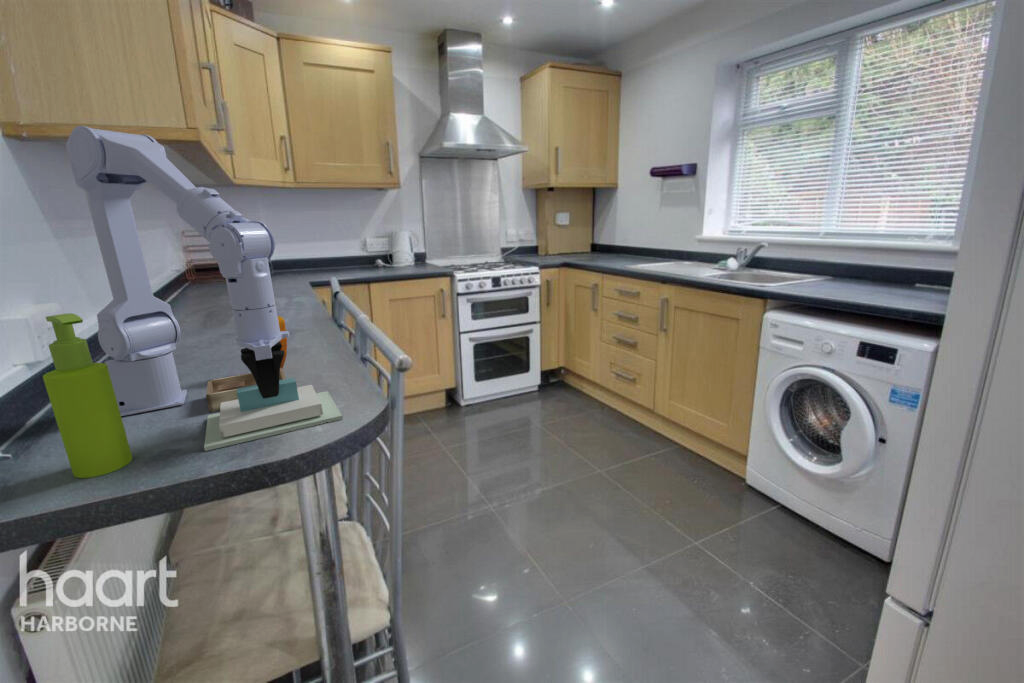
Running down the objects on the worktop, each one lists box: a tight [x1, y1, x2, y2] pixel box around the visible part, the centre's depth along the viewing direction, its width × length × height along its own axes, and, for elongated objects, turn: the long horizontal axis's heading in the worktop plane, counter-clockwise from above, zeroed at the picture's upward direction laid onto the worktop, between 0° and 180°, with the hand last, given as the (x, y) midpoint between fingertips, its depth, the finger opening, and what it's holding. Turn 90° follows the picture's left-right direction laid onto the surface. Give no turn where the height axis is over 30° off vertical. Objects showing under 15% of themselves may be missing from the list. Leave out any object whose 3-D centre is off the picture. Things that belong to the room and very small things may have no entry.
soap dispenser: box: [42, 313, 133, 479], centre depth 58 cm, size 6×7×20 cm
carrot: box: [275, 301, 288, 369], centre depth 96 cm, size 5×5×15 cm
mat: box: [203, 390, 343, 452], centre depth 73 cm, size 18×13×1 cm
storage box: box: [205, 368, 287, 413], centre depth 83 cm, size 12×9×3 cm
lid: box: [219, 377, 323, 438], centre depth 72 cm, size 13×10×5 cm
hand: (270, 393), depth 72 cm, fingers closed on lid, 2 cm apart
